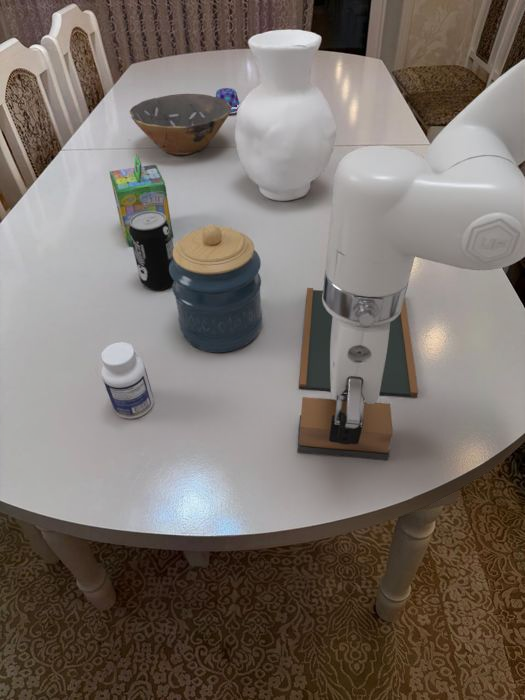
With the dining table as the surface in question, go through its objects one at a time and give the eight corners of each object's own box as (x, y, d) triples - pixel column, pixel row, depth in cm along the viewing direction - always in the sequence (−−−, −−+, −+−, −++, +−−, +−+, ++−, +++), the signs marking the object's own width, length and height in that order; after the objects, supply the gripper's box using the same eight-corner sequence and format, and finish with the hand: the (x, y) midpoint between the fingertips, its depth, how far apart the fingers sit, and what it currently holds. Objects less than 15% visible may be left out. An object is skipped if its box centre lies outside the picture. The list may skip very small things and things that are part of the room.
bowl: (251, 152, 127) (249, 111, 120) (164, 177, 117) (156, 134, 111) (202, 123, 142) (199, 86, 135) (122, 144, 133) (113, 104, 126)
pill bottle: (119, 389, 69) (102, 337, 62) (157, 389, 69) (144, 337, 62) (109, 419, 65) (89, 368, 59) (149, 420, 65) (135, 368, 58)
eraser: (385, 427, 64) (391, 402, 60) (388, 460, 60) (394, 435, 57) (299, 420, 65) (301, 395, 61) (297, 452, 61) (298, 427, 58)
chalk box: (120, 225, 102) (103, 153, 92) (165, 216, 104) (152, 145, 94) (128, 248, 96) (110, 173, 85) (174, 238, 98) (162, 165, 87)
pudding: (210, 117, 146) (208, 98, 142) (205, 104, 154) (203, 86, 151) (250, 114, 147) (249, 95, 144) (243, 101, 156) (242, 82, 152)
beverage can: (133, 281, 88) (118, 220, 79) (162, 265, 91) (151, 205, 83) (157, 296, 84) (143, 234, 76) (186, 279, 88) (176, 218, 79)
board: (403, 297, 83) (404, 292, 82) (417, 397, 67) (418, 392, 66) (307, 292, 84) (307, 287, 84) (298, 388, 69) (298, 384, 68)
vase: (279, 163, 122) (279, 19, 101) (348, 191, 110) (364, 35, 90) (222, 189, 112) (209, 36, 92) (291, 222, 101) (294, 56, 80)
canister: (219, 291, 85) (209, 194, 73) (279, 321, 79) (279, 221, 67) (163, 330, 78) (141, 231, 66) (223, 367, 72) (212, 265, 60)
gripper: (414, 357, 39) (379, 474, 51) (397, 241, 52) (372, 357, 64) (320, 349, 40) (307, 467, 52) (325, 237, 52) (314, 352, 64)
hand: (343, 406), depth 58 cm, fingers open, 9 cm apart
